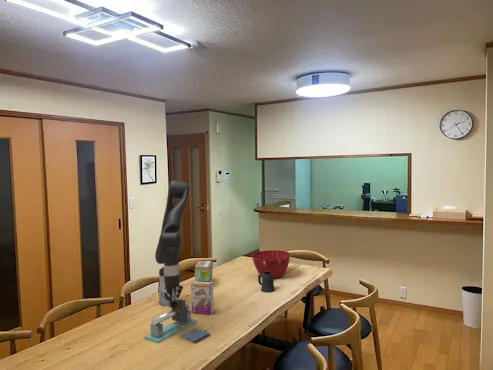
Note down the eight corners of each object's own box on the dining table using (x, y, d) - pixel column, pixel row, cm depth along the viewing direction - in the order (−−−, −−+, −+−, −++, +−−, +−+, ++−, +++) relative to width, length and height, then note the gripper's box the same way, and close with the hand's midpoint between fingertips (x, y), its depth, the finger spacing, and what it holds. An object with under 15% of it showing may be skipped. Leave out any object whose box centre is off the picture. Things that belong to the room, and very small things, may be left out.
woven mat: (195, 330, 177) (195, 326, 177) (211, 336, 170) (211, 332, 170) (179, 339, 169) (179, 334, 168) (195, 345, 162) (195, 341, 162)
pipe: (158, 338, 167) (157, 320, 166) (150, 335, 169) (150, 317, 169) (191, 320, 185) (190, 304, 184) (184, 318, 187) (183, 302, 187)
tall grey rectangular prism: (182, 322, 178) (181, 302, 177) (171, 319, 182) (171, 300, 181) (186, 320, 180) (185, 300, 180) (176, 317, 184) (175, 298, 184)
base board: (157, 343, 164) (157, 340, 164) (144, 338, 169) (144, 336, 169) (196, 322, 185) (196, 319, 185) (184, 318, 190) (184, 316, 190)
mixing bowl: (247, 280, 250) (246, 258, 249) (257, 269, 277) (257, 249, 276) (287, 283, 242) (287, 260, 241) (294, 271, 269) (294, 250, 268)
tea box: (210, 288, 236) (209, 266, 235) (194, 289, 236) (194, 266, 235) (212, 281, 251) (212, 260, 250) (198, 281, 251) (197, 260, 250)
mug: (278, 289, 230) (277, 272, 229) (269, 293, 223) (268, 275, 223) (263, 285, 238) (263, 269, 237) (254, 289, 231) (253, 272, 231)
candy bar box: (191, 313, 196) (190, 283, 196) (195, 309, 201) (194, 280, 200) (211, 315, 193) (209, 284, 193) (214, 311, 198) (213, 282, 197)
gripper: (176, 268, 184) (177, 302, 185) (156, 275, 174) (157, 311, 174) (186, 270, 180) (188, 305, 181) (166, 278, 169) (168, 314, 170)
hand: (173, 307), depth 178 cm, fingers closed
